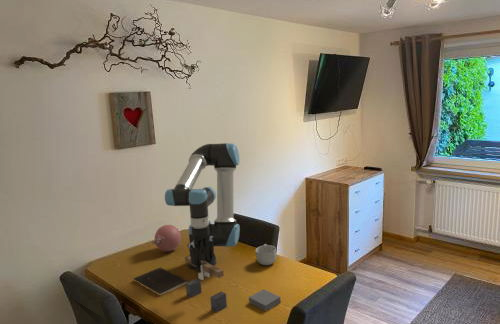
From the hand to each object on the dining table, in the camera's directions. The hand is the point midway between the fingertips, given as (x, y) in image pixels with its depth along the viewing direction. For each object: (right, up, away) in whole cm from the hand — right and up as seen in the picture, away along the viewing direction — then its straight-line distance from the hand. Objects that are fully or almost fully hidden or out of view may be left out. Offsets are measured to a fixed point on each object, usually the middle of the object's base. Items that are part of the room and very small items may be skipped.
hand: (204, 277), depth 166 cm
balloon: (-29, -3, +59) cm, 66 cm away
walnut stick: (0, +4, -1) cm, 4 cm away
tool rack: (+1, -11, +2) cm, 11 cm away
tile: (+23, -9, +2) cm, 25 cm away
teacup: (+29, -3, +38) cm, 48 cm away
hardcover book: (-24, -10, +22) cm, 34 cm away
